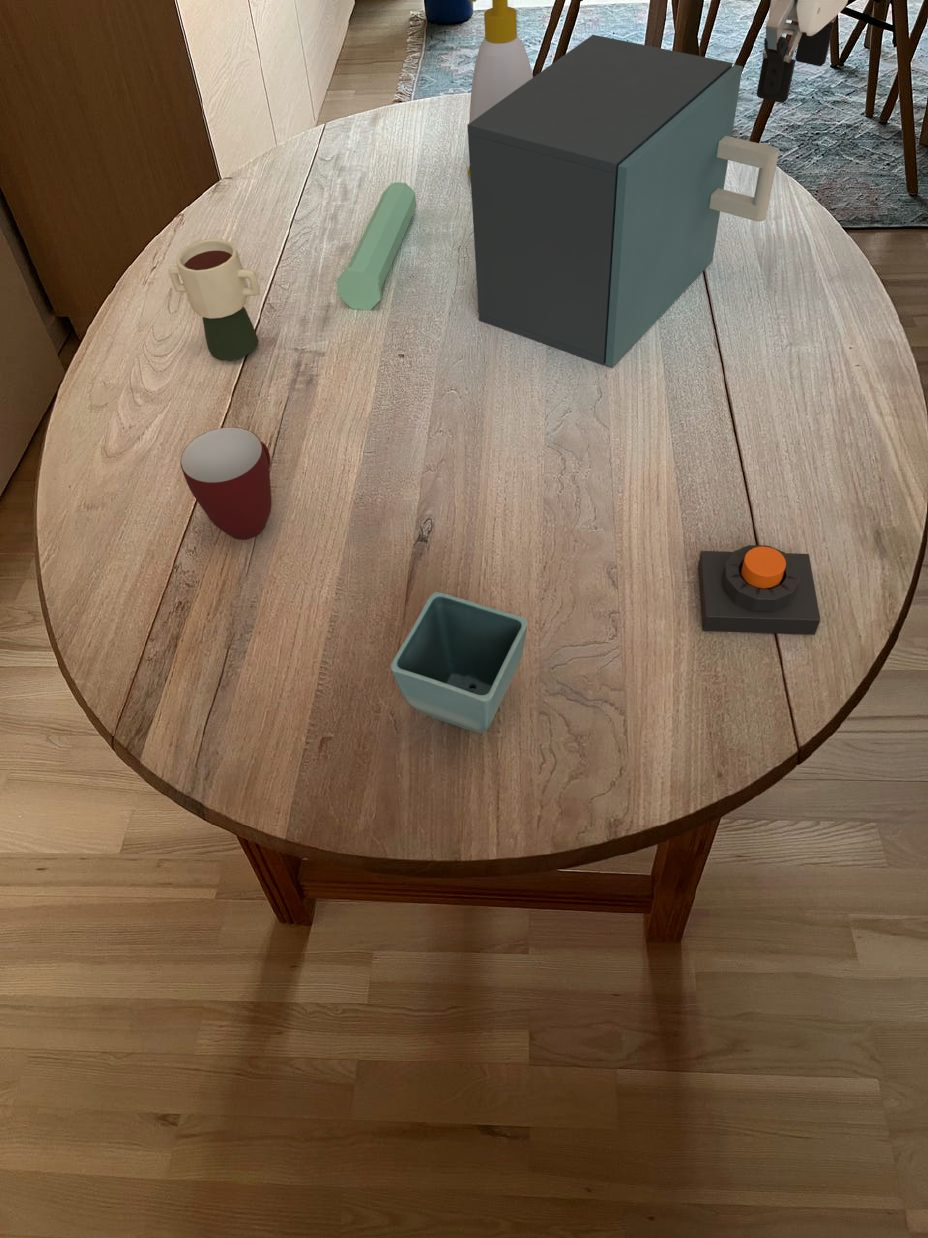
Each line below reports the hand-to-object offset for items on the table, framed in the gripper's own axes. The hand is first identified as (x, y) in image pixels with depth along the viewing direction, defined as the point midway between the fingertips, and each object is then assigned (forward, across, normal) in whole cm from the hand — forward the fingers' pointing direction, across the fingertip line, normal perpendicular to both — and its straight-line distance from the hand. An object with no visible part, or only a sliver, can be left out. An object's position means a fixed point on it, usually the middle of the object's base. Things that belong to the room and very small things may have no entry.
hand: (791, 80), depth 100 cm
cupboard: (+25, -10, +17) cm, 32 cm away
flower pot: (+25, -71, -6) cm, 75 cm away
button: (+21, -46, -22) cm, 55 cm away
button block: (+24, -46, -22) cm, 57 cm away
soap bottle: (+25, +9, +43) cm, 51 cm away
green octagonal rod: (+25, -17, +45) cm, 55 cm away
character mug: (+25, -43, +49) cm, 70 cm away
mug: (+25, -64, +27) cm, 74 cm away
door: (+25, -10, +4) cm, 27 cm away
